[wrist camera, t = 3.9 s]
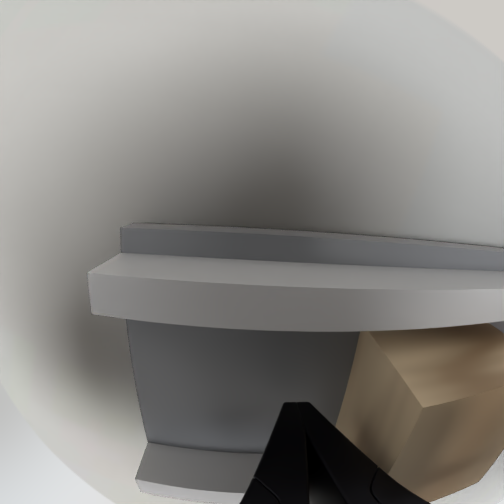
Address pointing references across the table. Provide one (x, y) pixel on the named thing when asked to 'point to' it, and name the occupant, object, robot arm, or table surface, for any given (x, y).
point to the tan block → (428, 405)
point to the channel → (266, 331)
